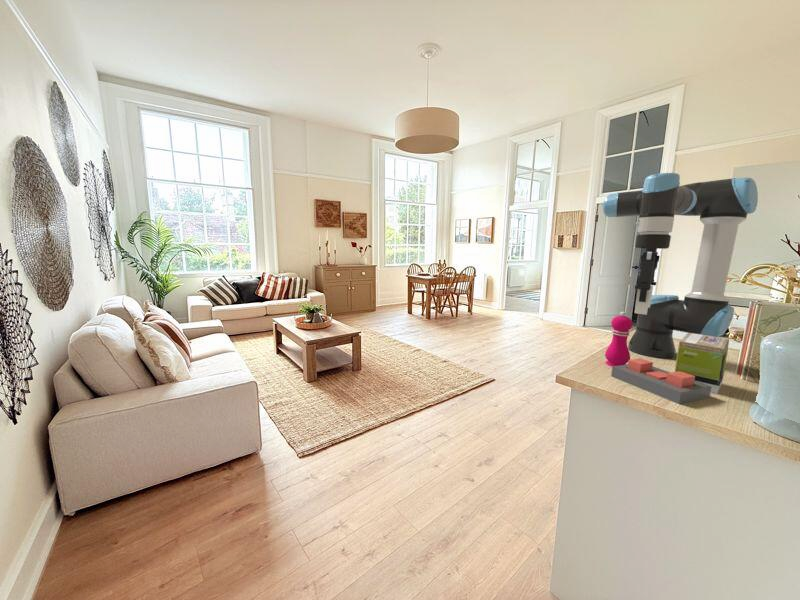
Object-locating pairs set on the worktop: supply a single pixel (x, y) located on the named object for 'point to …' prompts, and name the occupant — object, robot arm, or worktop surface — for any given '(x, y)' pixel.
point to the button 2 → (657, 375)
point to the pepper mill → (619, 341)
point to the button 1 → (640, 365)
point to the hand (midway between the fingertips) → (642, 310)
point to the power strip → (661, 385)
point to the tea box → (703, 358)
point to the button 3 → (680, 379)
